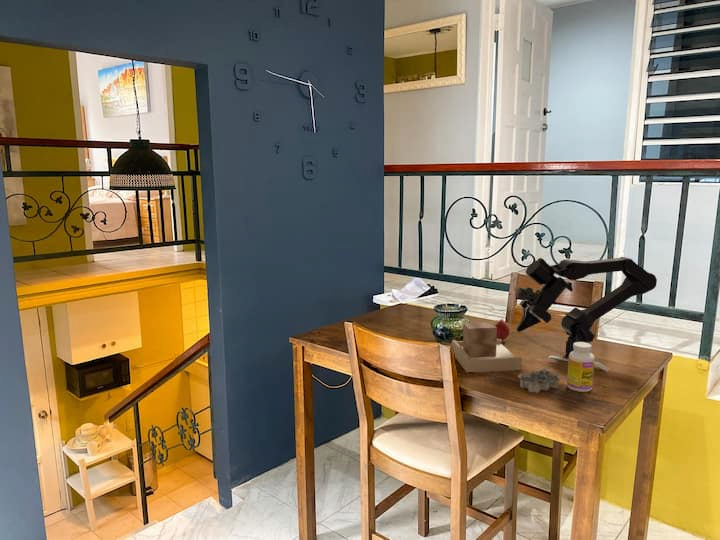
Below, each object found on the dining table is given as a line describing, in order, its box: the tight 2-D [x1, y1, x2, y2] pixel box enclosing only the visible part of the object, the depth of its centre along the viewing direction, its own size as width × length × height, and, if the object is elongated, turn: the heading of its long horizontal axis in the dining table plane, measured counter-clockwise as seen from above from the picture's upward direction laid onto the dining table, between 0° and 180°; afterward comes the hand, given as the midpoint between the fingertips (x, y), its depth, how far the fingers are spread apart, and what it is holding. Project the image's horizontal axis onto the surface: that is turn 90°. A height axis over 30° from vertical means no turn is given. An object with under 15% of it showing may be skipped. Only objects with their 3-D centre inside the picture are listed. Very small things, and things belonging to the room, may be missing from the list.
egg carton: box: [517, 367, 562, 393], centre depth 155 cm, size 11×8×4 cm
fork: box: [547, 355, 610, 373], centre depth 172 cm, size 3×21×3 cm, turn 44°
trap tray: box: [451, 339, 522, 374], centre depth 175 cm, size 17×18×5 cm
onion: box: [495, 318, 511, 342], centre depth 195 cm, size 6×6×8 cm
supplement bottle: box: [566, 342, 595, 393], centre depth 152 cm, size 7×7×13 cm
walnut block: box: [462, 321, 497, 358], centre depth 174 cm, size 9×6×10 cm, turn 95°
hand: (517, 331), depth 175 cm, fingers closed
